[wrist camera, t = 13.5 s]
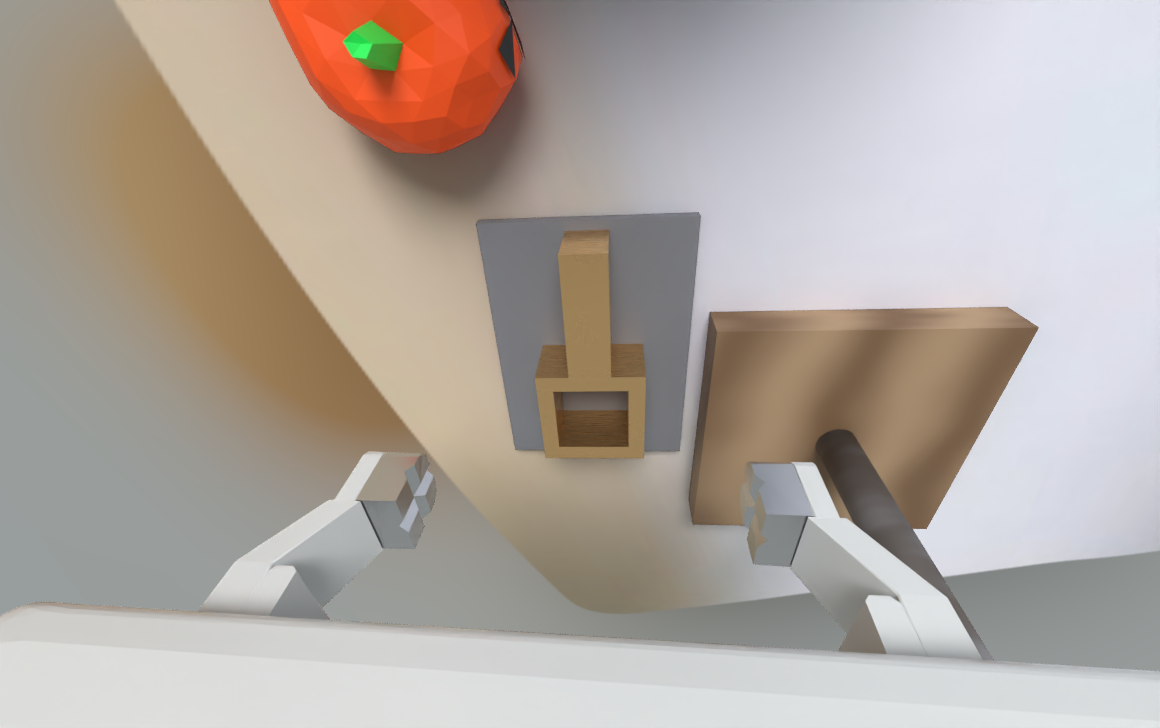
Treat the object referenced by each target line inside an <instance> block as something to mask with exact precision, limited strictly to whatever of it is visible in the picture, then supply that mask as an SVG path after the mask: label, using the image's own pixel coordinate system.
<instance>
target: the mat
mask: <svg viewBox="0 0 1160 728" xmlns="http://www.w3.org/2000/svg"><path fill="white" fill-rule="evenodd" d="M700 218H701V216H700V214H699V212H696V213H666V214H636V215H607V216H577V217H547V218H517V219H487V220H479V221H478V222H477V223H476V227H477V232H478V238H479V244H480V250H481V255H482V261H483V267H484V273H485V278H486V284H487V290H488V296H489V301H490V307H491V313H492V319H493V324H494V330H495V336H496V342H497V347H498V353H499V359H500V364H501V370H502V376H503V382H504V387H505V393H506V399H507V405H508V410H509V416H510V422H511V428H512V433H513V439H514V445H515V450H544V443H543V435H542V428H541V420H540V413H539V406H538V398H537V391H536V384H535V375H536V371H537V367H538V363H539V359H540V355H541V351H542V347H543V345H566V343H565V332H564V320H563V309H562V297H561V286H560V274H559V263H558V253H559V249H560V246H561V242H562V238H563V235H564V231H580V230H607V229H609V253H610V295H611V337H612V344H643V351H644V362H645V373H646V394H645V435H644V451H680V440H681V429H682V418H683V407H684V396H685V384H686V373H687V362H688V351H689V340H690V329H691V318H692V307H693V296H694V285H695V273H696V262H697V251H698V240H699V229H700ZM563 401H564V410H627V391H584V392H563Z"/></svg>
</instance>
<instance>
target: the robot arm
mask: <svg viewBox="0 0 1160 728" xmlns="http://www.w3.org/2000/svg"><path fill="white" fill-rule="evenodd" d="M428 467H429V461H428V458H427V456H426V455H424V454H416V453H397V452H367V453H366V454H364V455H363V456H362V458H361V460H360V461H359V463H358V464H357V466H356V467H355V469H354V470H353V472H352V473H351V475H350V476H349V478H348V480H347V481H346V483H345V484H344V486H343V487H342V489H341V490H340V492H339V493H338V495H337V497H336V498H335V500H328V501H327V502H325V503H324V504H322V505H320V506H319V507H318V508H316V509H315V510H313V511H311V512H310V513H308V514H307V515H305V516H304V517H302V518H301V519H299V520H298V521H296V522H295V523H293V524H292V525H290V526H288V527H287V528H286V529H284V530H282V531H281V532H279V533H278V534H276V535H275V536H273V537H272V538H270V539H269V540H267V541H266V542H264V543H263V544H261V545H260V546H258V547H256V548H255V549H253V550H252V551H250V552H249V553H248V554H246V555H244V556H243V557H241V558H240V559H238V560H237V561H235V563H234V564H233V565H232V566H231V568H230V569H229V570H228V572H227V573H226V574H225V576H224V577H223V578H222V580H221V581H220V582H219V583H218V585H217V586H216V587H215V589H214V590H213V591H212V593H211V594H210V595H209V597H208V598H207V599H206V601H205V602H204V603H203V605H202V606H201V607H200V608H199V610H198V611H197V612H196V611H180V610H164V609H148V608H147V609H146V608H131V607H115V606H100V605H99V606H98V605H83V604H69V603H57V602H35V603H31V604H26V605H23V606H20V607H17V608H15V609H13V610H11V611H9V612H7V613H4V614H2V615H0V728H1160V671H1152V670H1136V669H1119V668H1102V667H1086V666H1069V665H1054V664H1038V663H1021V662H1004V661H989V660H983V659H982V657H981V655H980V654H979V652H978V650H977V648H976V647H975V645H974V643H973V642H972V640H971V638H970V636H969V635H968V633H967V631H966V629H965V628H964V626H963V624H962V622H961V621H960V619H959V617H958V615H957V614H956V612H955V610H954V608H953V607H952V605H951V603H950V602H949V600H948V598H947V597H946V596H945V595H943V594H942V593H941V592H940V591H938V590H937V589H936V588H934V587H933V586H932V585H931V584H929V583H928V582H927V581H926V580H924V579H923V578H922V577H920V576H919V575H918V574H917V573H915V572H914V571H913V570H912V569H910V568H909V567H908V566H907V565H905V564H904V563H903V562H901V561H900V560H899V559H898V558H896V557H895V556H894V555H893V554H891V553H890V552H889V551H888V550H886V549H885V548H884V547H882V546H881V545H880V544H879V543H877V542H876V541H875V540H874V539H872V538H871V537H870V536H869V535H867V534H866V533H865V532H863V531H862V530H861V529H860V528H858V527H857V526H856V525H855V524H853V523H852V522H851V521H850V520H848V519H847V518H840V517H839V514H838V512H837V510H836V508H835V506H834V503H833V501H832V499H831V497H830V495H829V493H828V490H827V488H826V486H825V484H824V482H823V479H822V477H821V475H820V473H819V471H818V468H817V466H816V465H815V464H814V463H813V462H758V461H748V462H747V464H746V467H745V472H744V473H745V477H746V482H745V483H744V484H742V486H741V492H740V509H741V516H742V520H743V524H745V525H746V526H747V527H748V528H749V533H748V537H747V541H748V545H749V549H750V553H751V557H752V561H753V564H759V565H773V566H787V567H791V568H790V569H791V570H792V571H793V572H794V573H795V574H796V576H797V577H798V578H799V579H800V580H801V581H802V583H803V584H804V585H805V586H806V587H807V588H808V589H809V591H810V592H811V593H812V594H813V595H814V596H815V597H816V599H817V600H818V601H819V602H820V603H821V604H822V605H823V607H824V608H825V609H826V610H827V611H828V612H829V614H830V615H831V616H832V617H833V618H834V619H835V621H837V623H838V624H839V625H840V626H841V627H842V629H843V630H844V631H845V632H846V633H847V636H846V638H845V639H844V641H843V643H842V645H841V647H840V649H839V651H827V650H810V649H795V648H777V647H762V646H746V645H730V644H713V643H697V642H681V641H664V640H649V639H648V640H647V639H632V638H616V637H599V636H583V635H566V634H551V633H550V634H549V633H534V632H517V631H501V630H485V629H468V628H452V627H437V626H421V625H405V624H403V625H402V624H388V623H372V622H356V621H340V620H330V619H329V617H328V616H327V614H326V613H325V611H324V610H323V607H324V606H325V605H326V604H327V603H328V602H329V601H330V600H331V599H332V598H333V597H334V596H335V595H337V594H338V593H339V592H340V591H341V590H342V589H343V588H344V587H345V586H346V585H347V584H348V583H349V582H350V581H351V580H352V579H353V578H354V577H355V576H356V575H357V574H359V573H360V572H361V571H362V570H363V569H364V568H365V567H366V566H367V565H368V564H369V563H370V562H371V561H372V560H373V559H374V558H375V557H376V556H377V555H379V553H381V552H382V551H383V548H397V549H415V548H416V545H417V543H418V541H419V538H420V536H421V533H422V532H423V529H424V527H425V526H424V523H423V520H422V518H424V517H425V516H426V515H427V514H429V513H430V512H431V510H432V508H433V505H434V502H435V496H436V482H435V479H434V476H433V475H432V474H431V473H429V472H428V471H427V469H428Z"/></svg>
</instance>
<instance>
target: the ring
mask: <svg viewBox="0 0 1160 728" xmlns="http://www.w3.org/2000/svg"><path fill="white" fill-rule="evenodd" d="M558 263H559V274H560V286H561V297H562V309H563V320H564V332H565V343H566V345H543V347H542V351H541V355H540V359H539V363H538V367H537V371H536V375H535V384H536V391H537V398H538V406H539V413H540V420H541V428H542V435H543V443H544V450H545V457H546V458H644V435H645V394H646V373H645V362H644V351H643V344H612V337H611V295H610V253H609V229H607V230H580V231H564V235H563V238H562V242H561V246H560V249H559V253H558ZM584 391H627V410H564V401H563V392H584Z"/></svg>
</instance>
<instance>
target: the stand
mask: <svg viewBox="0 0 1160 728" xmlns="http://www.w3.org/2000/svg"><path fill="white" fill-rule="evenodd" d="M1038 328H1039V327H1037V326H1036V325H1034V324H1033V323H1031V322H1030V321H1028V320H1027V319H1025V318H1023V317H1022V316H1020V315H1019V314H1017V313H1016V312H1014V311H1013V310H1011V309H1010V308H1008V307H987V308H927V309H867V310H807V311H747V312H710V317H709V326H708V335H707V343H706V352H705V361H704V370H703V378H702V387H701V396H700V405H699V414H698V422H697V431H696V440H695V449H694V458H693V466H692V475H691V484H690V493H689V504H690V510H691V516H692V522H693V524H699V525H745V524H743V520H742V516H741V509H740V492H741V486H742V484H744V483H745V482H746V477H745V473H744V472H745V467H746V464H747V462H748V461H758V462H813V463H814V464H815V465H816V466H817V468H818V471H819V473H820V475H821V477H822V479H823V482H824V484H825V486H826V488H827V490H828V493H829V495H830V497H831V499H832V501H833V503H834V506H835V508H836V510H837V512H838V514H839V517H840V518H847V519H848V520H850V521H851V522H852V523H853V524H855V525H856V526H857V527H858V528H860V529H861V530H862V531H863V532H865V533H866V534H867V535H869V536H870V537H871V538H872V539H874V540H875V541H876V542H877V543H879V544H880V545H881V546H882V547H884V548H885V549H886V550H888V551H889V552H890V553H891V554H893V555H894V556H895V557H896V558H898V559H899V560H900V561H901V562H903V563H904V564H905V565H907V566H908V567H909V568H910V569H912V570H913V571H914V572H915V573H917V574H918V575H919V576H920V577H922V578H923V579H924V580H926V581H927V582H928V583H929V584H931V585H932V586H933V587H934V588H936V589H937V590H938V591H940V592H941V593H942V594H943V595H945V596H946V597H947V598H948V600H949V602H950V603H951V605H952V607H953V608H954V610H955V612H956V614H957V615H958V617H959V619H960V621H961V622H962V624H963V626H964V628H965V629H966V631H967V633H968V635H969V636H970V638H971V640H972V642H973V643H974V645H975V647H976V648H977V650H978V652H979V654H980V655H981V657H982V659H983V660H989V661H994V659H993V658H992V656H991V655H990V653H989V651H988V650H987V648H986V647H985V645H984V643H983V642H982V640H981V638H980V637H979V635H978V634H977V632H976V630H975V629H974V627H973V626H972V624H971V622H970V621H969V620H968V618H967V616H966V614H965V613H964V611H963V610H962V608H961V606H960V605H959V603H958V602H957V600H956V598H955V597H954V595H953V593H952V592H951V590H950V589H949V587H948V585H947V584H946V582H945V581H944V579H943V577H942V576H941V574H940V572H939V571H938V569H937V568H936V566H935V564H934V563H933V561H932V560H931V558H930V556H929V555H928V553H927V552H926V550H925V548H924V547H923V545H922V543H921V542H920V540H919V539H918V537H917V535H916V534H915V532H914V531H913V529H927V527H928V525H929V524H930V522H931V520H932V518H933V516H934V515H935V513H936V511H937V509H938V507H939V506H940V504H941V502H942V500H943V498H944V497H945V495H946V493H947V491H948V489H949V488H950V486H951V484H952V482H953V481H954V479H955V477H956V475H957V473H958V472H959V470H960V468H961V466H962V464H963V463H964V461H965V459H966V457H967V455H968V454H969V452H970V450H971V448H972V446H973V445H974V443H975V441H976V439H977V438H978V436H979V434H980V432H981V430H982V429H983V427H984V425H985V423H986V421H987V420H988V418H989V416H990V414H991V412H992V411H993V409H994V407H995V405H996V403H997V402H998V400H999V398H1000V396H1001V395H1002V393H1003V391H1004V389H1005V387H1006V386H1007V384H1008V382H1009V380H1010V378H1011V377H1012V375H1013V373H1014V371H1015V369H1016V368H1017V366H1018V364H1019V362H1020V361H1021V359H1022V357H1023V355H1024V353H1025V352H1026V350H1027V348H1028V346H1029V344H1030V343H1031V341H1032V339H1033V337H1034V335H1035V334H1036V332H1037V330H1038Z"/></svg>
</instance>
